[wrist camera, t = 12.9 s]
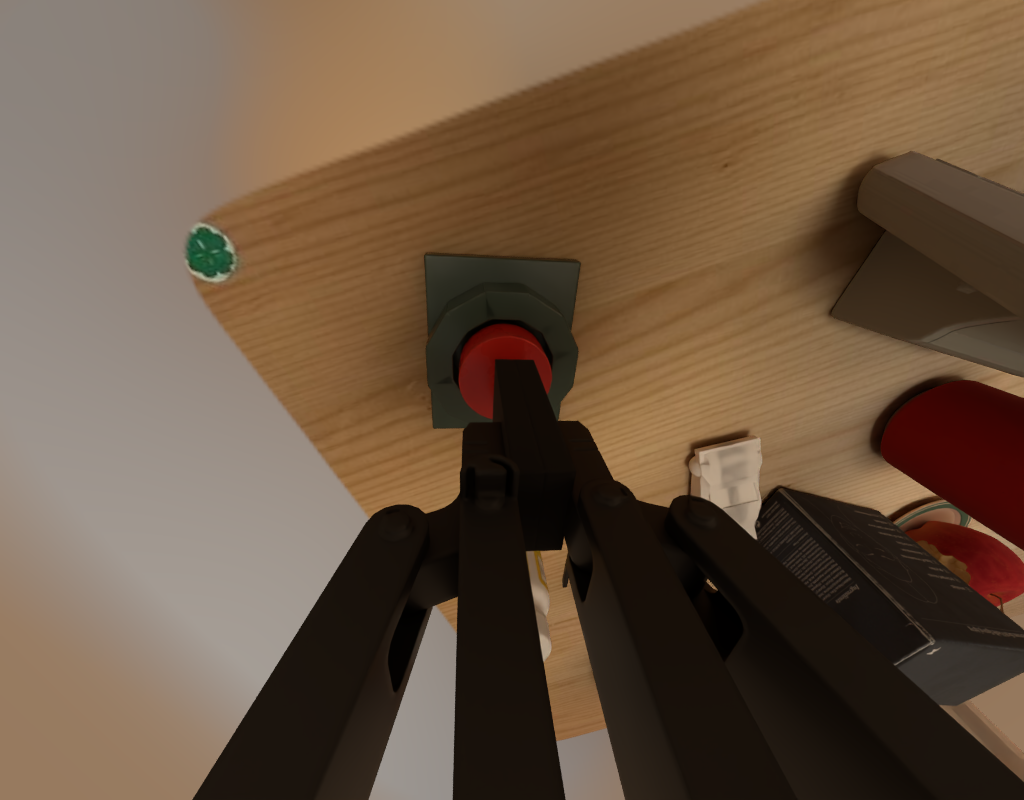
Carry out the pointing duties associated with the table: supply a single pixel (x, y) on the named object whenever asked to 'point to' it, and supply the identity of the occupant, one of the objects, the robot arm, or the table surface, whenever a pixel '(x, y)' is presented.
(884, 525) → the box
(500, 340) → the button
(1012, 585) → the apple
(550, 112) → the table surface
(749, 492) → the toy car
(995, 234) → the digital clock
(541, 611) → the supplement bottle
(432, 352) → the button box
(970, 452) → the beverage can
